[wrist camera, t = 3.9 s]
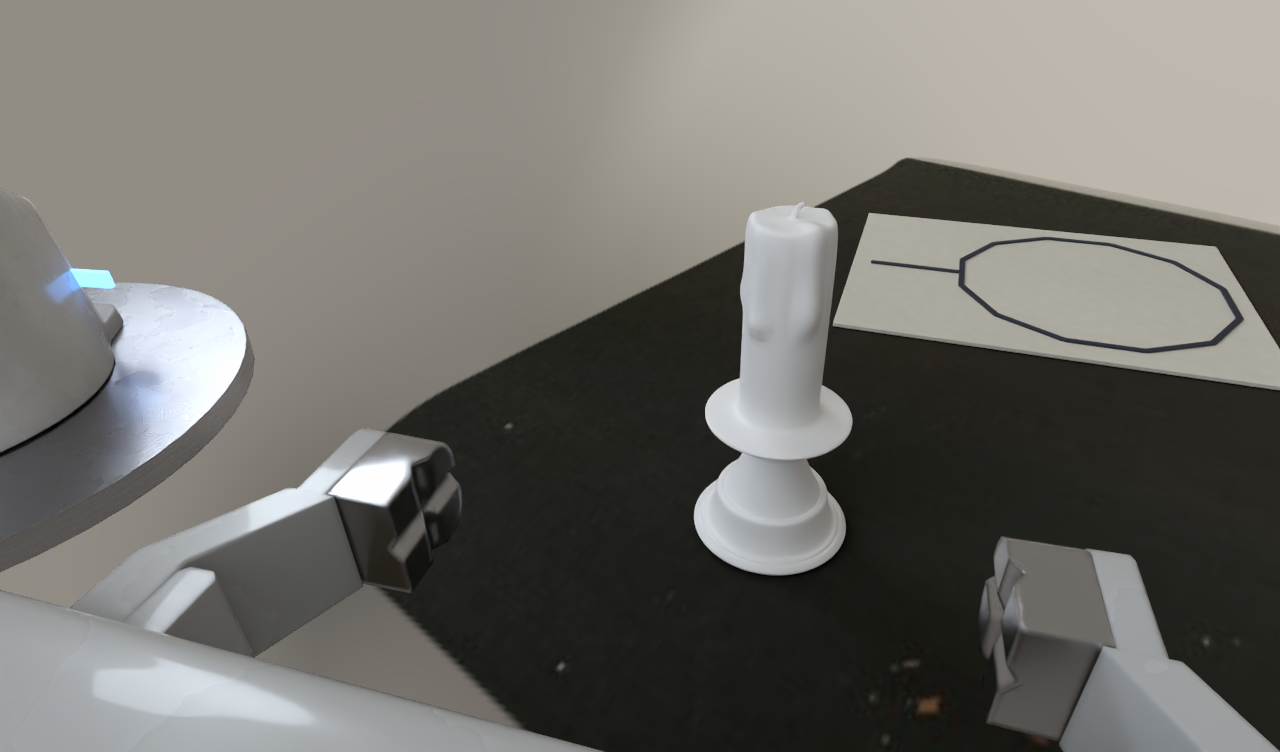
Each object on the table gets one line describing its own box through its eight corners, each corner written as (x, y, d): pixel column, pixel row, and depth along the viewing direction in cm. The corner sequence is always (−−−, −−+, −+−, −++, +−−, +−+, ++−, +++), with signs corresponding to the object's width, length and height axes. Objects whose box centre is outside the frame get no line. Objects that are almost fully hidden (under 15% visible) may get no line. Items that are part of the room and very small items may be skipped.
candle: (877, 548, 26) (941, 213, 20) (738, 598, 24) (759, 251, 18) (792, 458, 30) (823, 157, 24) (669, 496, 29) (666, 184, 22)
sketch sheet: (832, 326, 39) (833, 321, 39) (868, 215, 52) (869, 211, 51) (1303, 394, 33) (1306, 388, 33) (1214, 249, 45) (1216, 245, 45)
